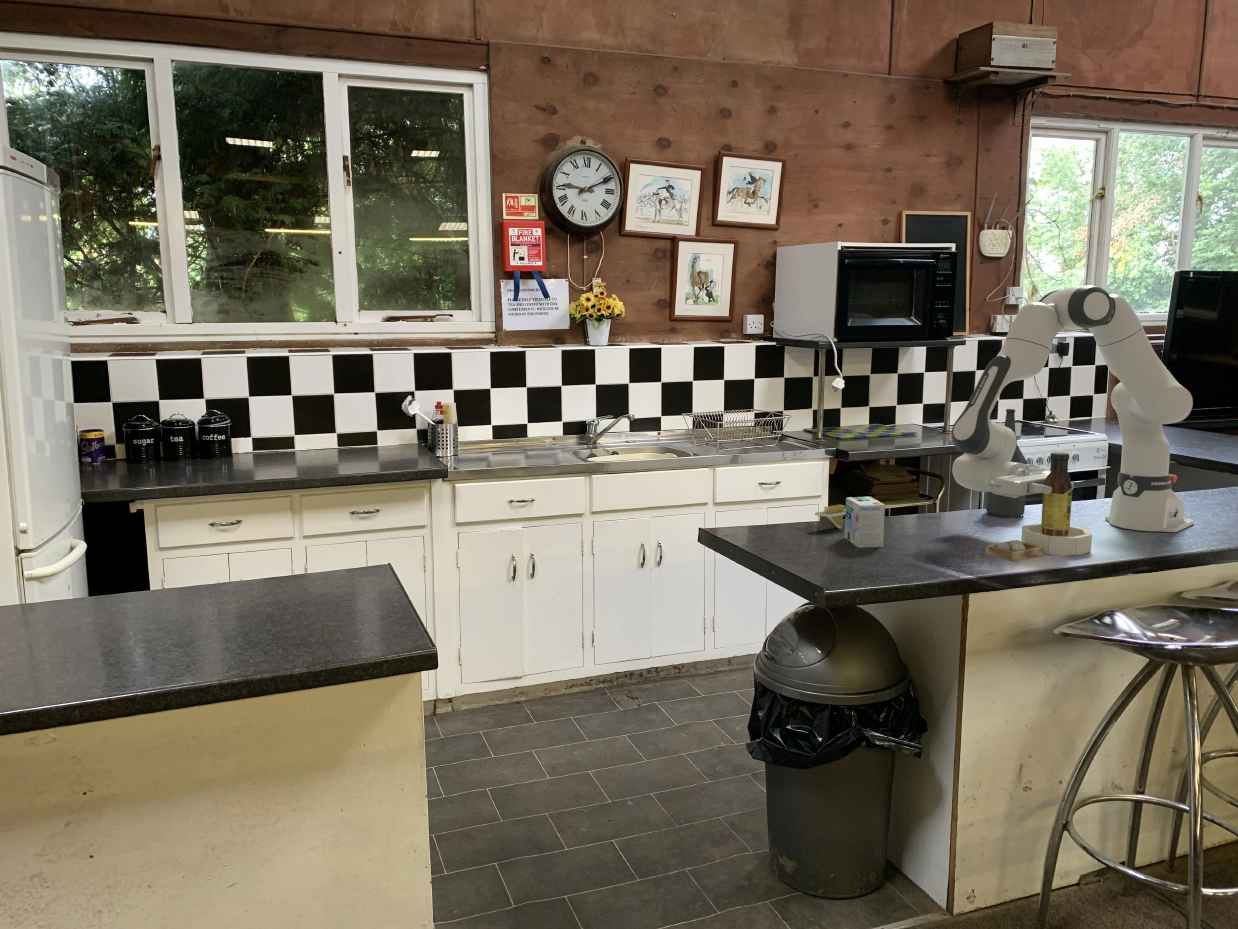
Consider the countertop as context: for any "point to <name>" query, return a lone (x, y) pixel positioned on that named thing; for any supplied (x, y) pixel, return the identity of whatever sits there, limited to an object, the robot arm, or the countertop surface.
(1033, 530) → the bowl
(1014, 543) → the pebble
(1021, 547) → the pebble
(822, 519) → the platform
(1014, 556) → the pebble tray
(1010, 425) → the bottle
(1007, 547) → the pebble
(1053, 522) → the sauce bottle
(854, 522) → the light bulb box
